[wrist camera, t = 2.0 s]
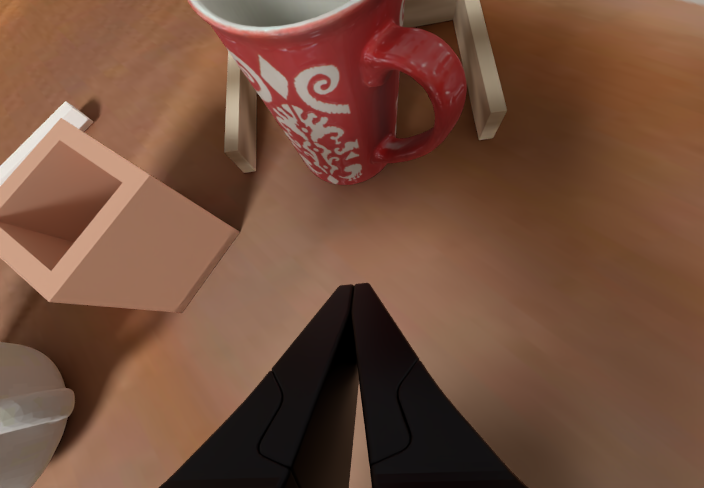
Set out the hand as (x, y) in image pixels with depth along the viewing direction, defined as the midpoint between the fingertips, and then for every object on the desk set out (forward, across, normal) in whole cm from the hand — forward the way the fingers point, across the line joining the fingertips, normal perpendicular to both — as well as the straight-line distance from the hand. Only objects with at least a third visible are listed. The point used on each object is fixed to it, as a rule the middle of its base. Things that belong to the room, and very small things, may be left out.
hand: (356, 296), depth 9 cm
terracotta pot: (+13, +15, +4) cm, 20 cm away
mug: (+17, 0, 0) cm, 17 cm away
